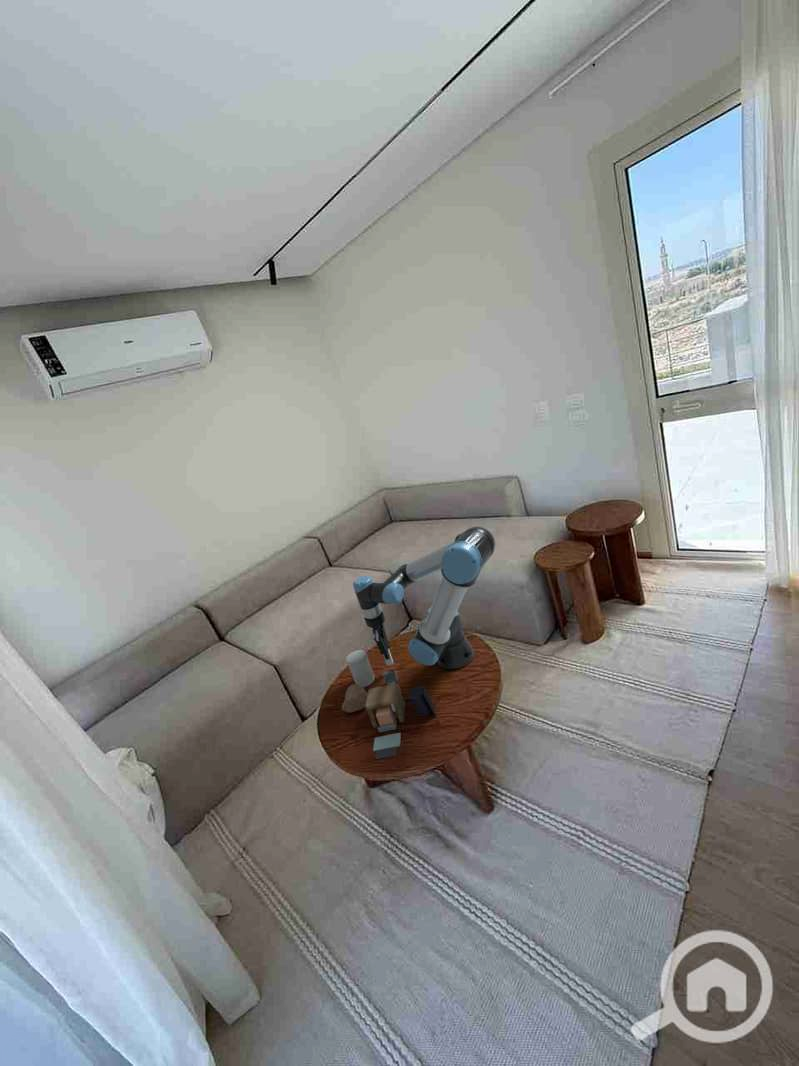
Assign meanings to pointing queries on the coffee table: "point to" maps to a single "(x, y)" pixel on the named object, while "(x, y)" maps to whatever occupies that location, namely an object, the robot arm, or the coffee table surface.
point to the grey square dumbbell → (390, 679)
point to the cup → (360, 668)
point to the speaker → (421, 701)
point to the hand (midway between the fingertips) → (390, 663)
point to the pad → (387, 741)
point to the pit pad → (386, 753)
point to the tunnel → (385, 701)
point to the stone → (354, 698)
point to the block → (385, 715)
